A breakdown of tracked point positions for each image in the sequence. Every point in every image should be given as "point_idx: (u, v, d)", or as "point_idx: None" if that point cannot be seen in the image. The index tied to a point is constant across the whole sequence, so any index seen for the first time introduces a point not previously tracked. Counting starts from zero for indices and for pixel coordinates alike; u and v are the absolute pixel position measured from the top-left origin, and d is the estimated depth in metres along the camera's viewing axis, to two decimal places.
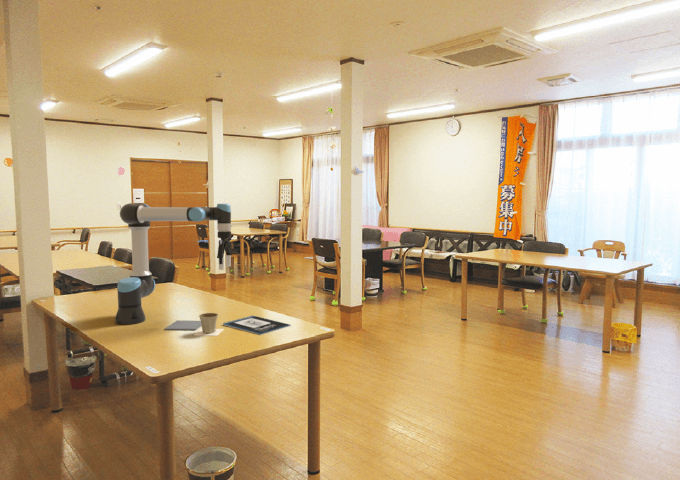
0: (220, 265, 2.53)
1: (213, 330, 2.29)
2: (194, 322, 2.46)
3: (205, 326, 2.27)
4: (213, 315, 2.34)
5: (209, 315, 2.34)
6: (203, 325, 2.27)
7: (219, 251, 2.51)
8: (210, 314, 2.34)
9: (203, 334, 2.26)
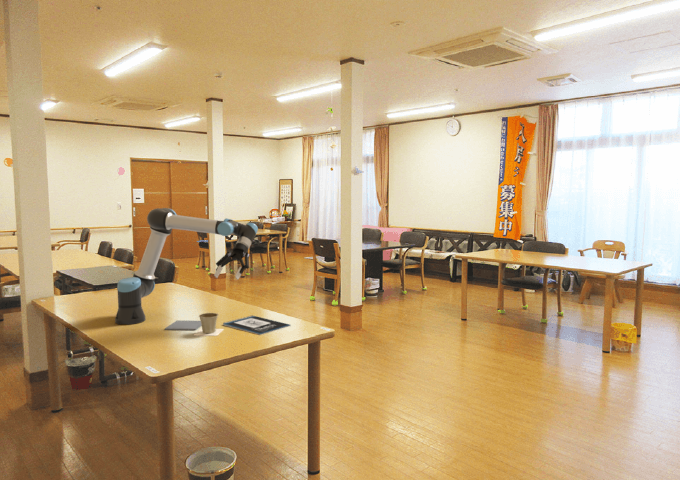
0: (238, 273, 2.40)
1: (213, 330, 2.29)
2: (194, 322, 2.46)
3: (205, 326, 2.27)
4: (213, 315, 2.34)
5: (209, 315, 2.34)
6: (203, 325, 2.27)
7: (247, 262, 2.44)
8: (210, 314, 2.34)
9: (203, 334, 2.26)
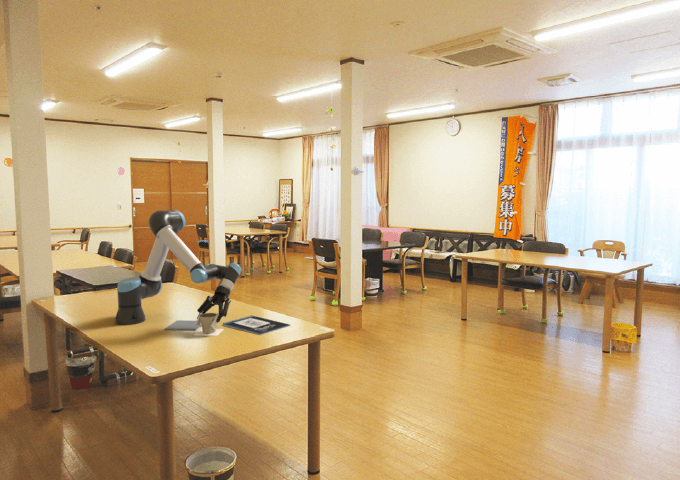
0: (215, 322, 2.26)
1: (213, 330, 2.29)
2: (194, 322, 2.46)
3: (205, 326, 2.27)
4: (213, 315, 2.34)
5: (209, 315, 2.34)
6: (203, 325, 2.27)
7: (226, 309, 2.30)
8: (210, 314, 2.34)
9: (203, 334, 2.26)
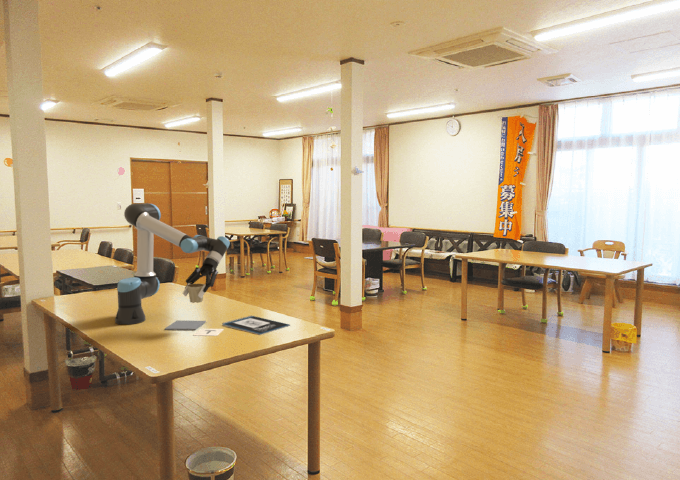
0: (202, 292, 2.32)
1: (200, 300, 2.34)
2: (194, 322, 2.46)
3: (192, 296, 2.32)
4: (201, 286, 2.39)
5: (197, 286, 2.39)
6: (190, 295, 2.33)
7: (213, 280, 2.36)
8: (197, 284, 2.40)
9: (203, 334, 2.26)
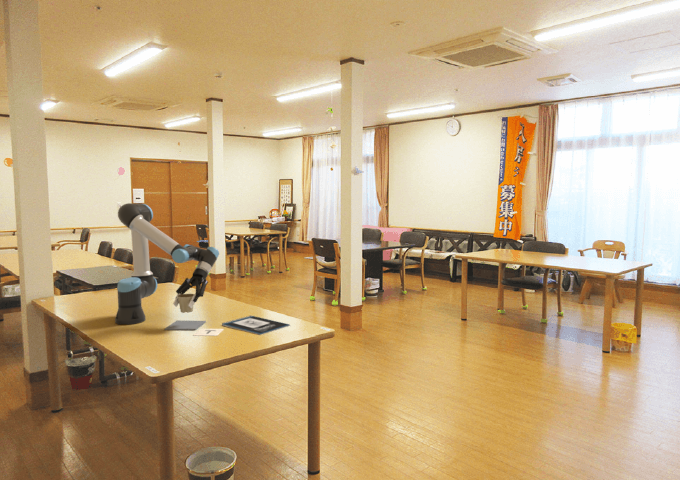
0: (192, 302, 2.37)
1: (190, 310, 2.40)
2: (194, 322, 2.46)
3: (183, 306, 2.38)
4: (191, 296, 2.45)
5: (187, 296, 2.45)
6: (181, 305, 2.38)
7: (202, 290, 2.41)
8: (188, 294, 2.45)
9: (203, 334, 2.26)
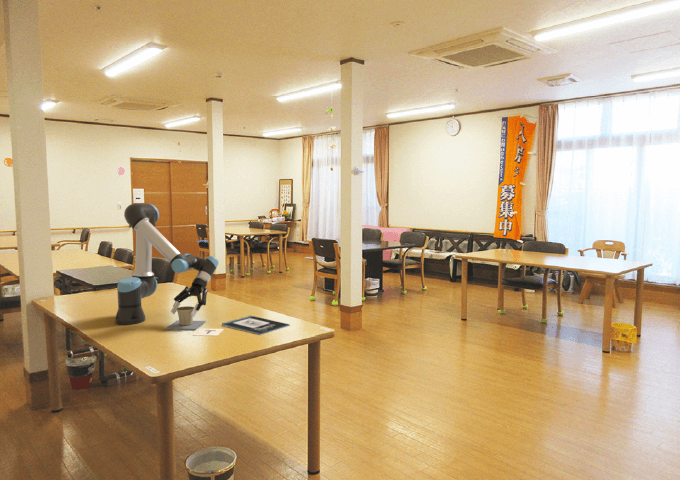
0: (195, 310, 2.38)
1: (190, 322, 2.40)
2: (194, 322, 2.46)
3: (182, 319, 2.38)
4: (190, 308, 2.45)
5: (186, 308, 2.46)
6: (180, 317, 2.39)
7: (204, 298, 2.42)
8: (187, 307, 2.46)
9: (203, 334, 2.26)
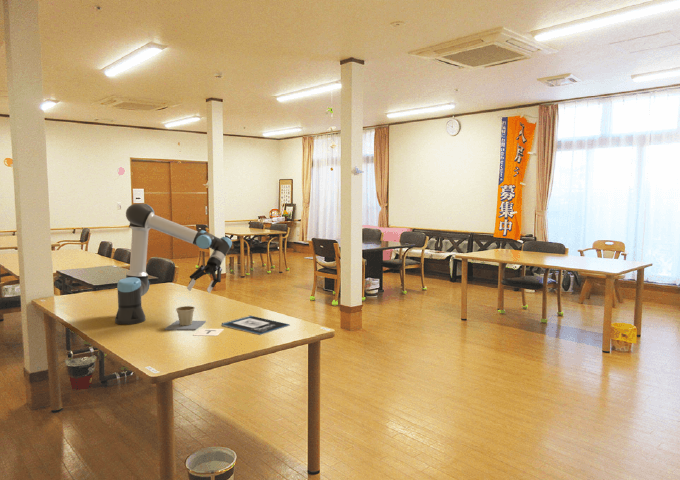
0: (210, 287, 2.49)
1: (190, 322, 2.40)
2: (194, 322, 2.46)
3: (182, 319, 2.38)
4: (190, 308, 2.45)
5: (186, 308, 2.45)
6: (180, 318, 2.39)
7: (219, 276, 2.53)
8: (186, 307, 2.45)
9: (203, 334, 2.26)
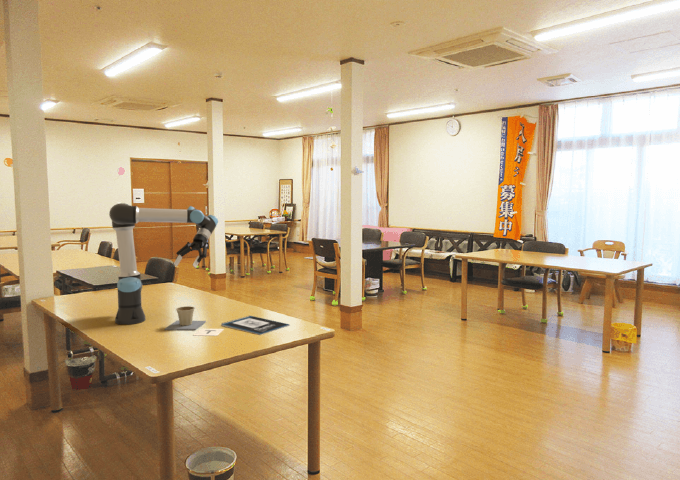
0: (196, 262, 2.56)
1: (190, 322, 2.40)
2: (194, 322, 2.46)
3: (182, 319, 2.38)
4: (190, 308, 2.45)
5: (186, 308, 2.45)
6: (180, 318, 2.39)
7: (205, 251, 2.60)
8: (186, 307, 2.46)
9: (203, 334, 2.26)
